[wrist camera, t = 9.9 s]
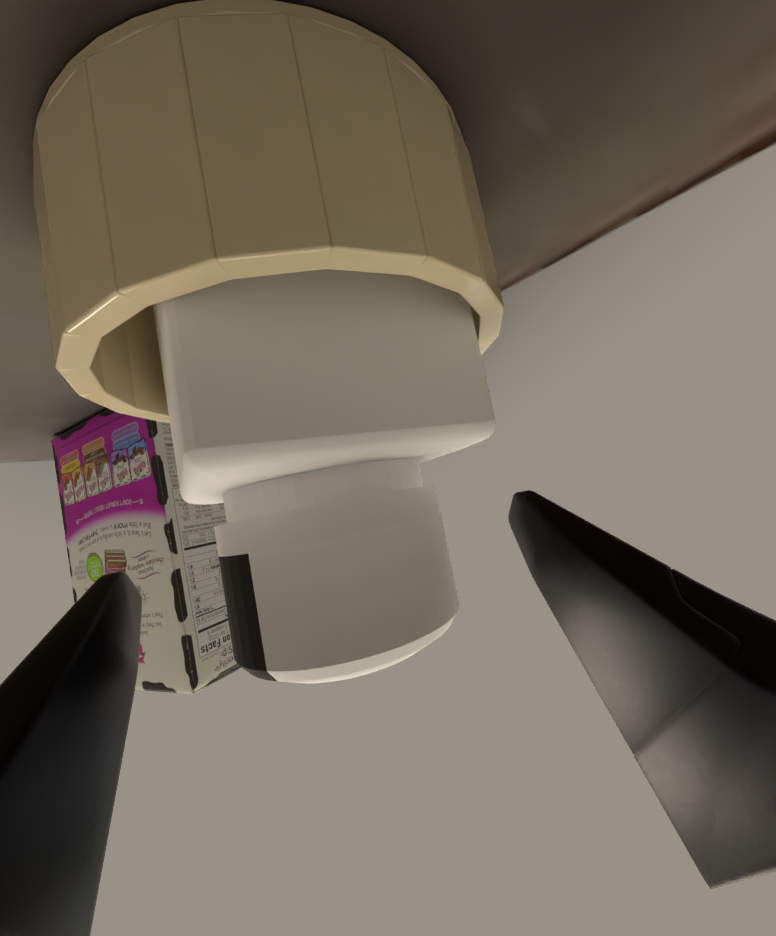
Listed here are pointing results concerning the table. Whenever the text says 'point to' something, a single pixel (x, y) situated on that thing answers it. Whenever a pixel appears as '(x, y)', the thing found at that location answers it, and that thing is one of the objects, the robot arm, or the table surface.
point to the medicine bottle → (324, 458)
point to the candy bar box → (147, 545)
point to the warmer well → (239, 178)
